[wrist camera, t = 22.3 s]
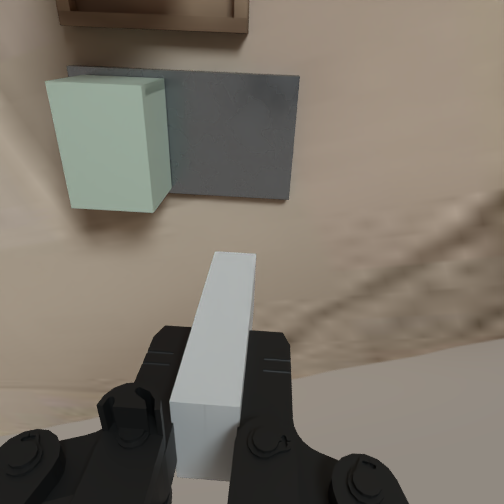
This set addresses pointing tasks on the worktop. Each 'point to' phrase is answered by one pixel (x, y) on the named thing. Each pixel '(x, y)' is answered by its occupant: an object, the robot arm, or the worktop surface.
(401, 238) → the worktop surface
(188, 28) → the tray
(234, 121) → the stub plate
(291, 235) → the worktop surface
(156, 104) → the block
